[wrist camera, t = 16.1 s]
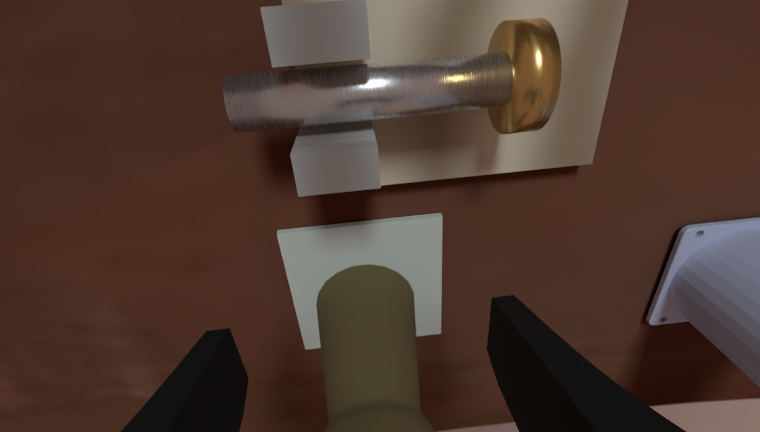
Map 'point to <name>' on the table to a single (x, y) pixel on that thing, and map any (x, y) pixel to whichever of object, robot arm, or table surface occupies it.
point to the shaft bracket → (448, 130)
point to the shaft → (412, 87)
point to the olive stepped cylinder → (370, 352)
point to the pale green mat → (365, 263)
